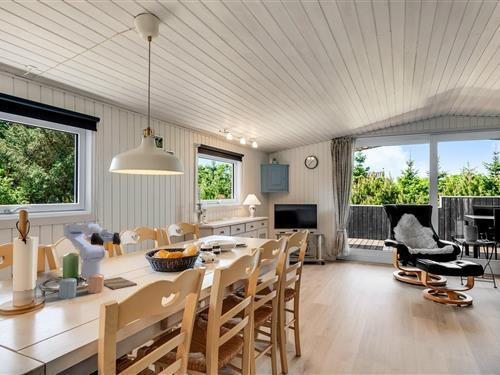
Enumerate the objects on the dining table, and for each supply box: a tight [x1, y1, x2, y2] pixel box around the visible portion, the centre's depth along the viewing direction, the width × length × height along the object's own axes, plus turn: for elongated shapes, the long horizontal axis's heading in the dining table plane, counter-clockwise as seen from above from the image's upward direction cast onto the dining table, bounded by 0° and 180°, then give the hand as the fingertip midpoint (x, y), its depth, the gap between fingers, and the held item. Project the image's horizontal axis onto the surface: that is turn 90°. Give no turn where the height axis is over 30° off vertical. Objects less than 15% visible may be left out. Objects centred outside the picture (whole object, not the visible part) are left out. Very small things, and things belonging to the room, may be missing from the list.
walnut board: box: [104, 276, 138, 291], centre depth 146 cm, size 16×11×1 cm
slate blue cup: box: [58, 277, 78, 300], centre depth 126 cm, size 6×6×7 cm
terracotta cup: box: [87, 273, 105, 294], centre depth 134 cm, size 6×6×7 cm
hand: (111, 242), depth 140 cm, fingers open, 7 cm apart
